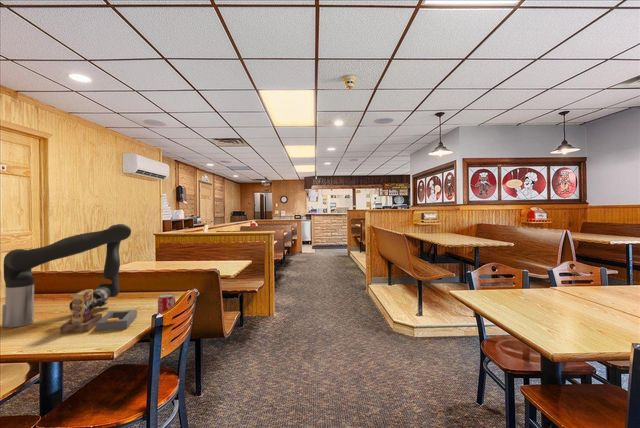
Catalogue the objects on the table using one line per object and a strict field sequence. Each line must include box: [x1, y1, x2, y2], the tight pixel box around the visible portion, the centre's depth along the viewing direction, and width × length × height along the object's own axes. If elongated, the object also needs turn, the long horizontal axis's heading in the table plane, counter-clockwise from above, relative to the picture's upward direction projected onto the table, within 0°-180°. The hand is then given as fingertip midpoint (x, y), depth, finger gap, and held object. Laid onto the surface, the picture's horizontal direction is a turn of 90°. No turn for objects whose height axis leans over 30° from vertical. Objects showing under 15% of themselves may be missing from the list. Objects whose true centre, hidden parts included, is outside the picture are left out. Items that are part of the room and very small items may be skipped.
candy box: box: [71, 289, 94, 324], centre depth 135 cm, size 9×4×15 cm, turn 13°
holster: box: [59, 313, 103, 335], centre depth 135 cm, size 10×15×3 cm, turn 18°
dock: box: [95, 308, 138, 332], centre depth 139 cm, size 12×16×4 cm
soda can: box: [157, 293, 176, 314], centre depth 139 cm, size 7×7×13 cm
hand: (81, 308), depth 134 cm, fingers open, 6 cm apart
